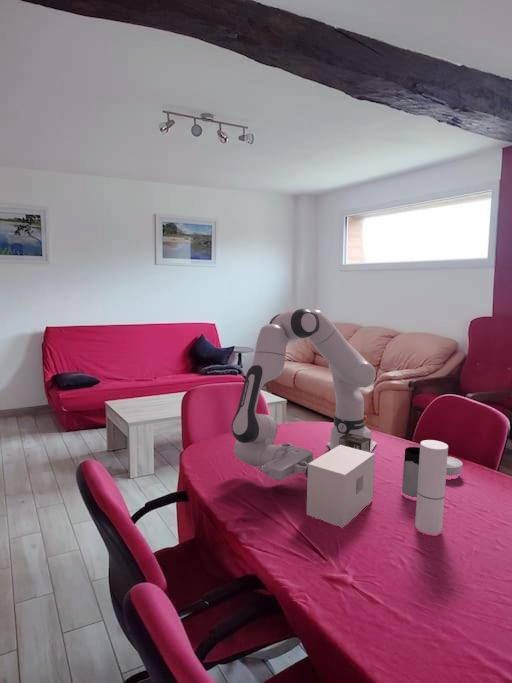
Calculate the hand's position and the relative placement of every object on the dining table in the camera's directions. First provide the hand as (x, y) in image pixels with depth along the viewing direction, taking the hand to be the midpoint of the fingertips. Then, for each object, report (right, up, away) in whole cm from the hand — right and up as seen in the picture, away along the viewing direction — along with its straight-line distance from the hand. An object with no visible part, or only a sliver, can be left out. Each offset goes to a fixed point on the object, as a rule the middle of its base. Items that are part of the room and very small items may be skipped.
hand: (310, 469), depth 147 cm
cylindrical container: (+31, -12, -16) cm, 37 cm away
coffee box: (+16, -8, +13) cm, 22 cm away
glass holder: (+36, -9, +6) cm, 38 cm away
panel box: (+8, -10, -5) cm, 14 cm away
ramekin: (+51, -8, +20) cm, 55 cm away
